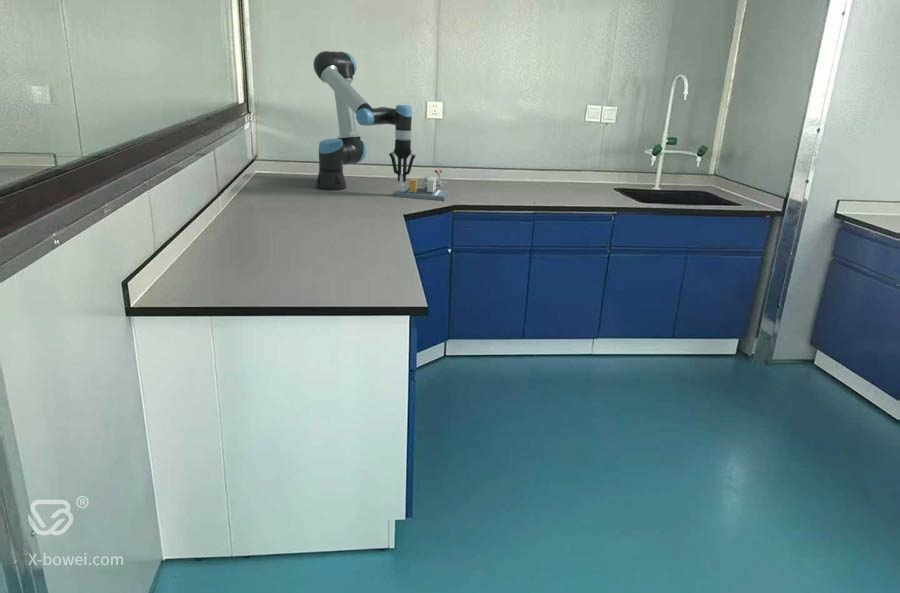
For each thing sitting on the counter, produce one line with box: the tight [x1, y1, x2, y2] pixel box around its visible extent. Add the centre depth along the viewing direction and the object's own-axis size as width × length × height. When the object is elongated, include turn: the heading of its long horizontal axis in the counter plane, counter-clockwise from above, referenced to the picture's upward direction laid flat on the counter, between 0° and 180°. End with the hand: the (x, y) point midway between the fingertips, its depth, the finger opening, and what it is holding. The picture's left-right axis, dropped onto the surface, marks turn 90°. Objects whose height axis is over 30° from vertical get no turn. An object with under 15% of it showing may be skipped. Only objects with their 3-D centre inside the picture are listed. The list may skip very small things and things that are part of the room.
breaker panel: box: [395, 176, 449, 202], centre depth 311 cm, size 24×14×8 cm, turn 82°
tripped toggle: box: [409, 178, 418, 193], centre depth 307 cm, size 3×3×6 cm
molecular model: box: [422, 167, 447, 188], centre depth 328 cm, size 19×10×10 cm, turn 154°
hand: (401, 188), depth 308 cm, fingers closed
